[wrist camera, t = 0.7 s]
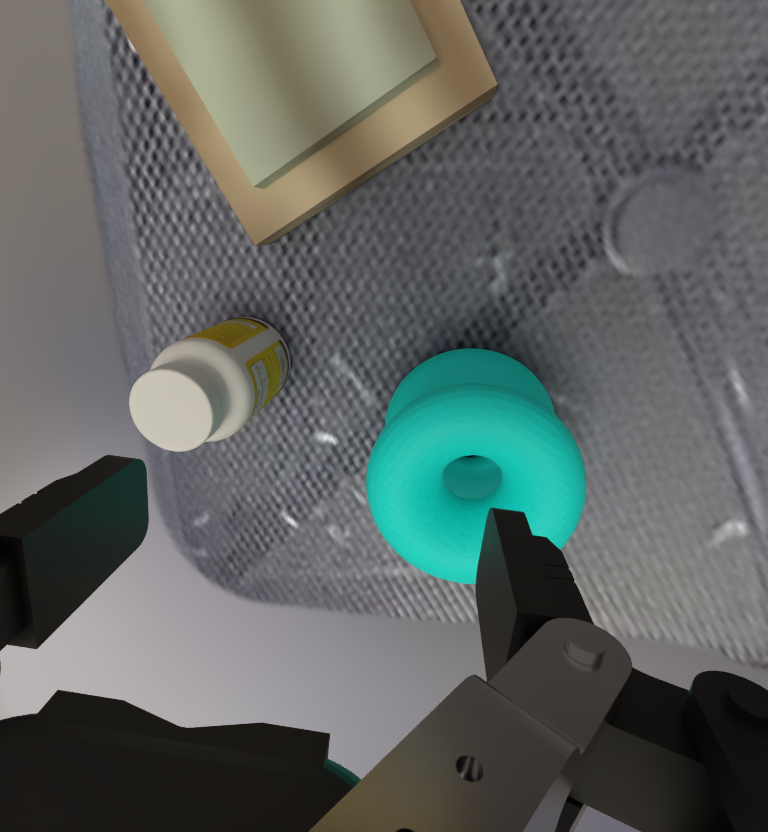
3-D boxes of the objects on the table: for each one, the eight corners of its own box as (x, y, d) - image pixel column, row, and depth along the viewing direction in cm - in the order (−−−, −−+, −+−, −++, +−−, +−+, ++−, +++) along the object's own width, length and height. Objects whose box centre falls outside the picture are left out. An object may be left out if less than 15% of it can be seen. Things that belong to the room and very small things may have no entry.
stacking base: (350, -219, 22) (329, -310, 18) (493, 97, 26) (500, 74, 22) (119, -7, 26) (64, -46, 22) (270, 244, 29) (244, 246, 26)
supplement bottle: (192, 351, 32) (90, 399, 23) (251, 297, 31) (165, 325, 21) (251, 416, 33) (174, 486, 24) (310, 366, 32) (252, 422, 22)
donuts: (320, 520, 24) (449, 347, 20) (358, 438, 33) (450, 309, 29) (494, 632, 24) (646, 484, 21) (483, 521, 34) (586, 406, 30)
